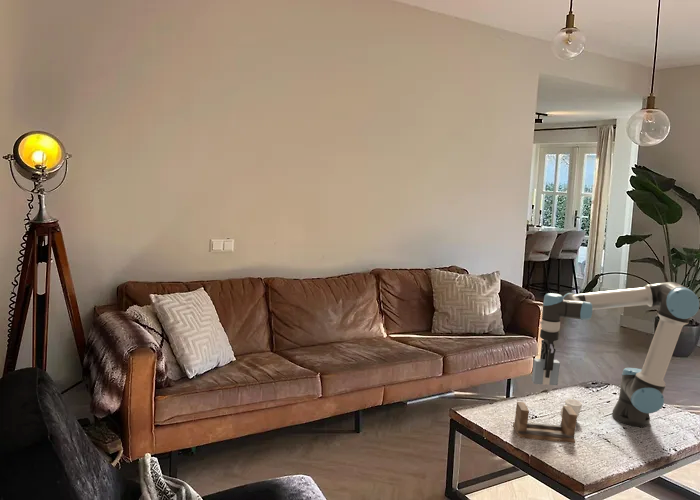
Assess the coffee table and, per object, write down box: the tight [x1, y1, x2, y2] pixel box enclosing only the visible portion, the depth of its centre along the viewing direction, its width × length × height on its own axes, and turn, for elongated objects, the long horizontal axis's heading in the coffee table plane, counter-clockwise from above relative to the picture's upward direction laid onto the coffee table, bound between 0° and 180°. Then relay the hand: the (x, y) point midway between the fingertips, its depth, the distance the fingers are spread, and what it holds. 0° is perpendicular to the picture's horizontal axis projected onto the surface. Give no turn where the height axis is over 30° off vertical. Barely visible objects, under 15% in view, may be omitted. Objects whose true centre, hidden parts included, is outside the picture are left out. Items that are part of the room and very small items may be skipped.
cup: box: [560, 398, 583, 422], centre depth 256 cm, size 7×10×8 cm
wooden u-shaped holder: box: [512, 401, 578, 444], centre depth 240 cm, size 22×12×11 cm, turn 86°
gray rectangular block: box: [531, 358, 561, 386], centre depth 253 cm, size 10×4×10 cm, turn 86°
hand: (544, 382), depth 253 cm, fingers closed on gray rectangular block, 4 cm apart
